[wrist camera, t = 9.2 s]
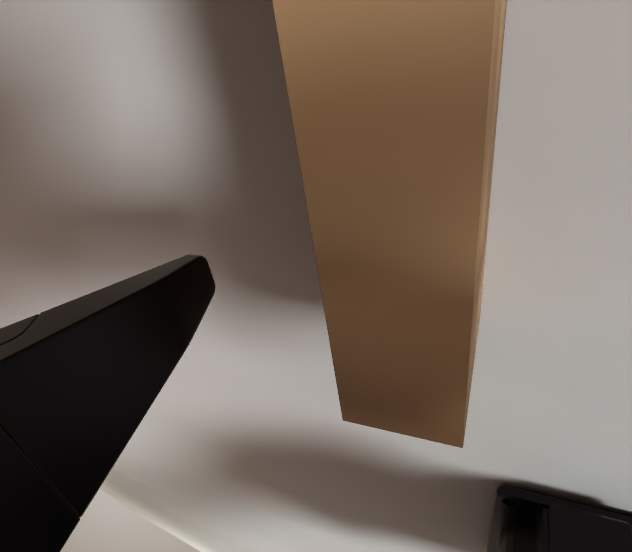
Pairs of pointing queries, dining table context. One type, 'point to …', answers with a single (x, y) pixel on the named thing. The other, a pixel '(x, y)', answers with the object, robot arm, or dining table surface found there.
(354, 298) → the rail
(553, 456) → the dining table surface
